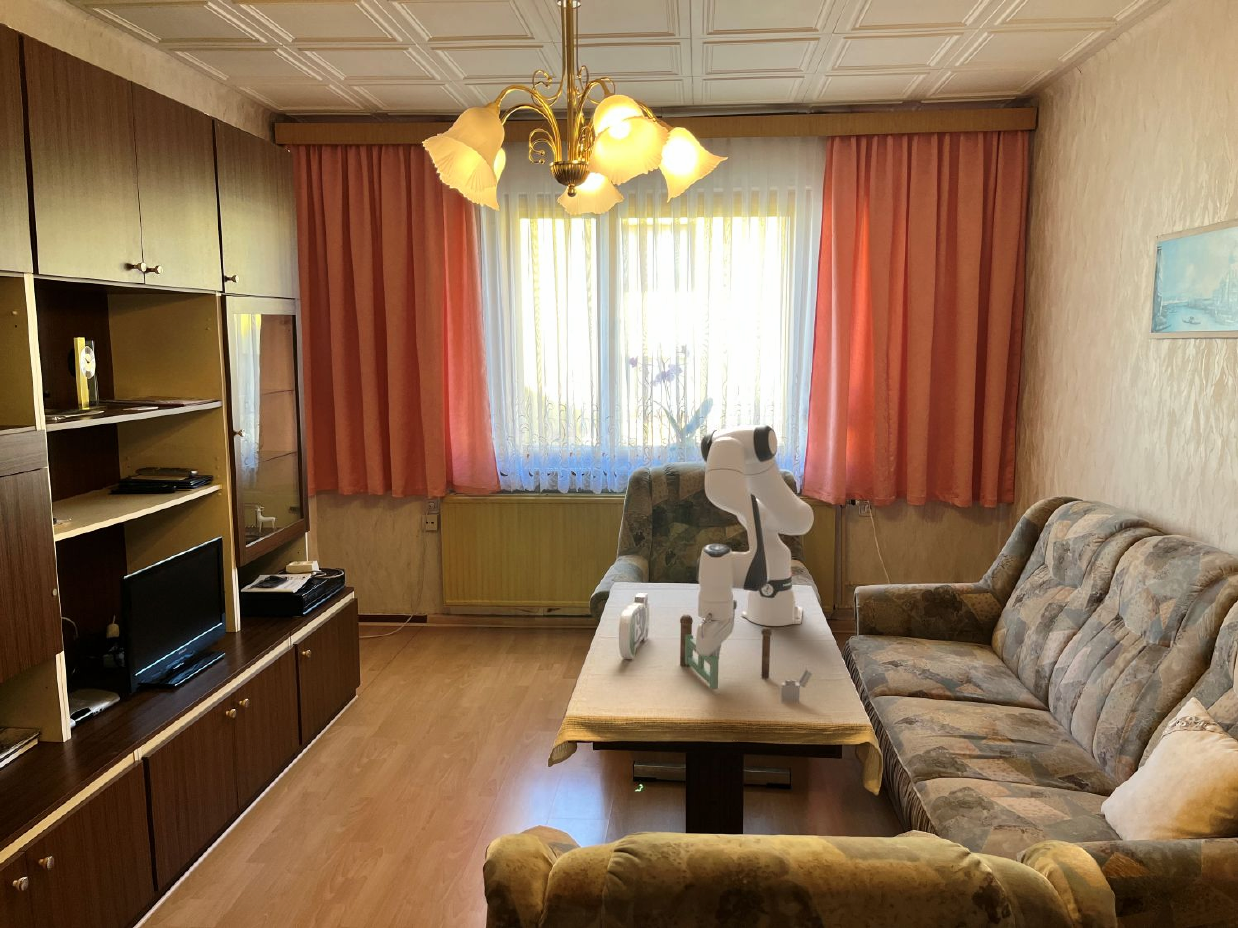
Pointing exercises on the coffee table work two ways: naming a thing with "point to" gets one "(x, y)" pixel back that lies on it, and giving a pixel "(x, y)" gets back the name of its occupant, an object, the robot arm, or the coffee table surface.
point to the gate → (701, 662)
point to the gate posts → (766, 632)
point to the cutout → (634, 626)
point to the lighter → (794, 688)
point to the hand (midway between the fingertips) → (714, 660)
